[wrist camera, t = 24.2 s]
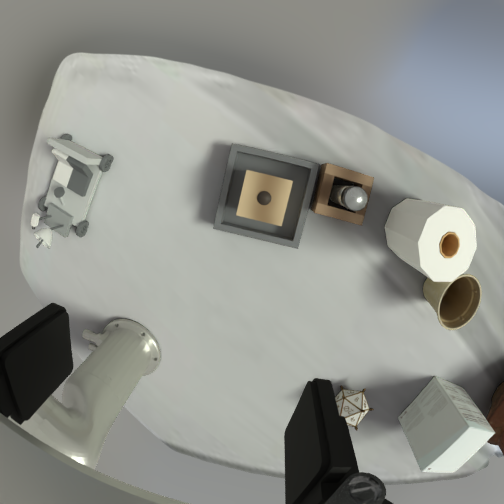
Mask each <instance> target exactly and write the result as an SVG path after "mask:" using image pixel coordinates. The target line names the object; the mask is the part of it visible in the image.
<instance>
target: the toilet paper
mask: <svg viewBox="0 0 504 504" xmlns="http://www.w3.org/2000/svg"><path fill="white" fill-rule="evenodd" d="M385 233H386V239H387V245H388V247H389V248H390V249H391V250H392V251H393V252H394V253H395V254H396V255H397V256H398V257H399V258H400V259H402V260H403V261H405V262H406V263H408V264H409V265H411V266H412V267H414V268H415V269H417V270H418V271H419V272H421V273H422V274H424V275H425V276H427V277H428V278H429V279H431V280H432V281H434V282H452V281H454V280H455V279H456V278H457V277H459V276H460V275H461V274H462V273H463V272H465V271H466V270H467V269H468V267H469V265H470V263H471V260H472V258H473V255H474V253H475V250H476V248H477V245H476V230H475V224H474V223H473V221H472V220H471V218H470V217H469V216H468V214H467V213H466V212H465V210H464V209H463V208H458V207H454V206H449V205H444V204H439V203H434V202H428V201H423V200H416V199H408V198H406V199H405V200H403V201H402V202H401V203H399V204H398V205H396V206H395V207H393V208H392V209H391V212H390V214H389V217H388V219H387V222H386V224H385Z"/></svg>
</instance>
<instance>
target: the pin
mask: <svg viewBox="0 0 504 504" xmlns="http://www.w3.org/2000/svg"><path fill="white" fill-rule="evenodd" d="M329 197H330V199H331V200H332V201H333V202H335V203H337V204H340V205H342V206H344V207H346V208H347V209H350V210H352V211H360V210H362V209H363V208H365V206H366V205H367V202H368V196H367V193H366V191H365V190H364V189H363V188H361V187H358V186H344V185H334V186H332V188H331V193H330V196H329Z"/></svg>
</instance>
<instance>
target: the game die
mask: <svg viewBox="0 0 504 504" xmlns="http://www.w3.org/2000/svg"><path fill="white" fill-rule="evenodd" d="M340 388H341V391H340V393H339V394H338V395H337V396H336V397H335V399H336V403H337V407H338V411H339V415H340V416H344V417H345V419H346V422H347V425H348V426H353V427H355V429H356V430H357V429H358V428H357V425H358V424H359V422H360V421H361V420H362V419H363V417H364V416H365V415H366V414H367V412H368V411H369V410H370V411H372V410H374V409H372V408H369V406H368V403H367V401H366V398H365V395H364V393H363V392H365V391H366V390H365V389H366V388H365V389H363V390H362V391H354V390H345V389H343V387H342V386H341V387H340Z"/></svg>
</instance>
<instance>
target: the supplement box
mask: <svg viewBox="0 0 504 504" xmlns="http://www.w3.org/2000/svg"><path fill="white" fill-rule="evenodd" d="M398 419H399V422H400V424H401V426H402V428H403V430H404V433H405V435H406V437H407V439H408V442H409V444H410V446H411V448H412V451H413V453H414V455H415V458H416V460H417V463H418V465H419V467H420V470H421V472H445V473H454V472H455V471H456V470H457V469H458V468H460V467H461V466H462V465H463V464H464V463H465V462H466V461H467V460H468V459H469V458H471V457H472V456H473V455H474V454H475V453H476V452H477V451H478V450H479V449H480V448H481V447H482V446H483V445H484V444H485V443H486V442H487V441H488V440H489V439H490V438H491V437H492V436H493V435H494V434H495V432H494V430H493V429H492V427H491V426H490V424H489V423H488V421H487V420H486V418H485V417H484V416H483V414H482V413H481V411H480V410H479V409H478V407H477V406H476V404H475V403H474V402H473V400H472V399H471V398H470V396H469V395H468V394H467V392H466V391H465V390H464V388H462V387H460V386H458V385H455V384H453V383H451V382H448V381H446V380H444V379H441V378H439V377H437V376H434V377H433V379H432V380H431V381H430V382H429V383H428V385H427V386H426V387H425V388H424V389H423V390H422V392H421V393H420V394H419V395H418V396H417V397H416V398H415V400H414V401H413V402H412V403H411V404H410V405H409V406H408V407H407V408H406V409H405V410H404V412H403V413H402V414H401V415H400V416H399V417H398Z"/></svg>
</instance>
